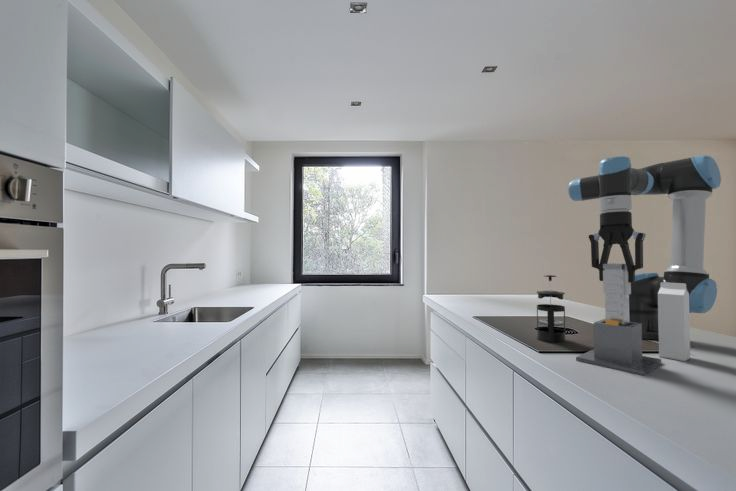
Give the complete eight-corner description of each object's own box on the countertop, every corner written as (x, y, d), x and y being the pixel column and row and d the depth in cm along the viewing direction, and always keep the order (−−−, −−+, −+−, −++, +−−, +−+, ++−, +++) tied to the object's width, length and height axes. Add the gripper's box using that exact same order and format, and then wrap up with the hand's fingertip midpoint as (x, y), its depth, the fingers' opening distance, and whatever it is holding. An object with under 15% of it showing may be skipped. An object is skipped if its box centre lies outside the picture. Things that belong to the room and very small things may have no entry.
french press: (567, 344, 120) (566, 276, 120) (536, 341, 124) (535, 275, 124) (564, 337, 130) (563, 274, 131) (536, 334, 135) (535, 273, 135)
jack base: (597, 350, 112) (596, 312, 112) (661, 362, 100) (660, 319, 100) (576, 360, 102) (575, 318, 102) (644, 375, 90) (643, 326, 90)
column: (612, 332, 105) (611, 263, 105) (631, 335, 102) (629, 263, 102) (604, 335, 101) (602, 264, 101) (623, 338, 97) (621, 264, 98)
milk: (685, 361, 101) (683, 284, 101) (658, 356, 106) (657, 282, 106) (690, 357, 105) (689, 282, 105) (664, 352, 109) (663, 281, 110)
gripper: (576, 213, 106) (578, 291, 106) (649, 207, 93) (651, 297, 92) (586, 215, 111) (588, 290, 111) (657, 209, 97) (659, 295, 97)
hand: (616, 293), depth 101 cm, fingers closed on column, 4 cm apart
